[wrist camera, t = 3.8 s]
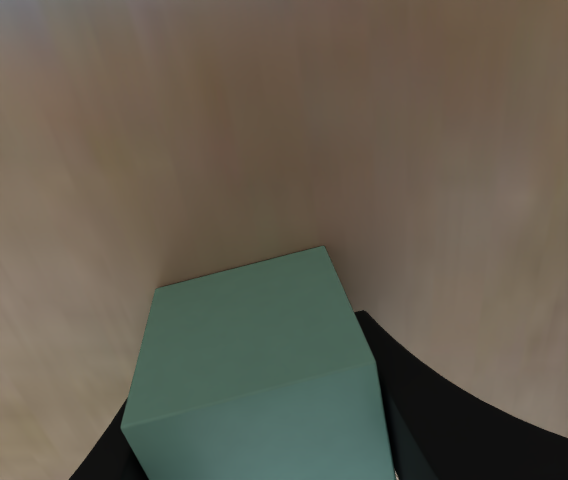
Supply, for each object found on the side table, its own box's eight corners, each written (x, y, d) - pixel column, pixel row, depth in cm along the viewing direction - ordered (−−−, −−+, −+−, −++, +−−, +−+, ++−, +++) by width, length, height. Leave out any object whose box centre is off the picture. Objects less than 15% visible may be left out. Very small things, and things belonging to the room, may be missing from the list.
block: (324, 244, 13) (376, 361, 9) (351, 373, 15) (403, 518, 11) (154, 287, 13) (118, 428, 9) (206, 410, 15) (199, 572, 11)
